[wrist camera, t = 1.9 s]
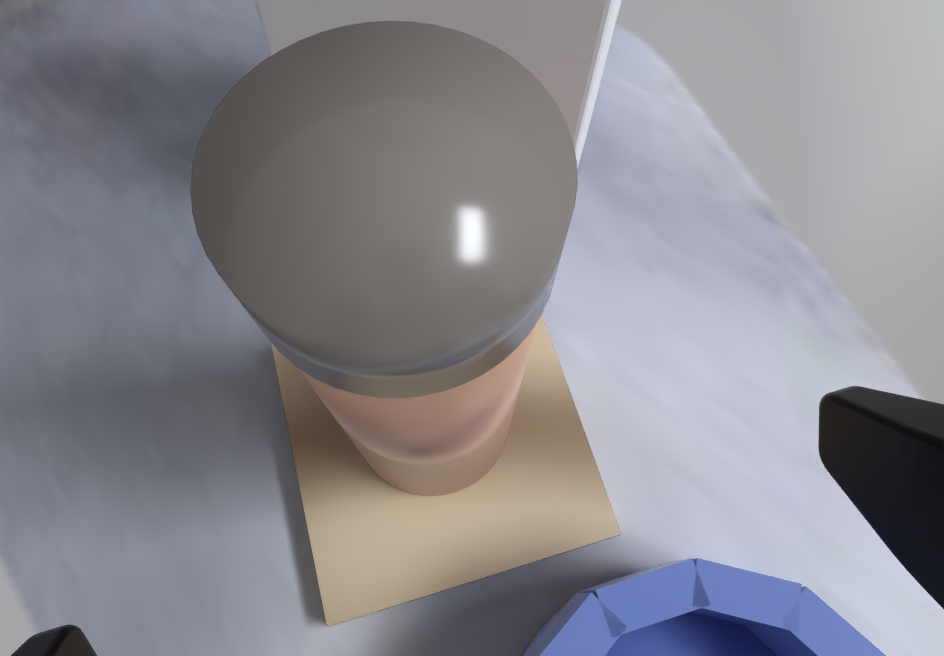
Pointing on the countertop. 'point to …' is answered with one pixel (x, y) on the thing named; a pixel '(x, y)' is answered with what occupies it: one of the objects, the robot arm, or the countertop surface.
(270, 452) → the countertop surface
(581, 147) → the milk carton
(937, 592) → the robot arm
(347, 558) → the cork mat
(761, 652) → the bowl
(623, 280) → the countertop surface
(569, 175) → the spice jar
